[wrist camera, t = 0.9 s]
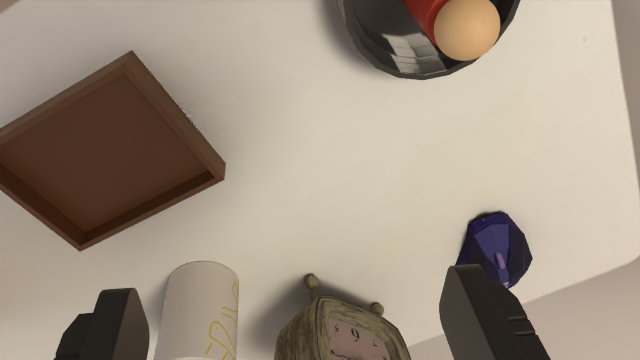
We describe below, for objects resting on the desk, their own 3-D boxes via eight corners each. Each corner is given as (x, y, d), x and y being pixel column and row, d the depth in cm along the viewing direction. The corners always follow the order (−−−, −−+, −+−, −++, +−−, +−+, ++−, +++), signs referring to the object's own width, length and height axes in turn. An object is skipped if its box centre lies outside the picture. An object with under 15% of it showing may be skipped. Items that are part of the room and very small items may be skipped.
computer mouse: (461, 298, 63) (472, 324, 60) (440, 224, 54) (451, 249, 51) (531, 277, 62) (546, 302, 59) (521, 197, 53) (538, 221, 50)
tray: (87, 233, 50) (79, 252, 48) (-24, 143, 42) (-39, 160, 40) (225, 163, 46) (224, 179, 44) (132, 49, 38) (125, 63, 36)
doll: (384, -8, 37) (429, 56, 27) (412, -59, 35) (471, -9, 25) (426, 13, 39) (483, 82, 29) (455, -35, 36) (527, 22, 27)
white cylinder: (241, 304, 59) (238, 397, 50) (174, 309, 58) (158, 405, 49) (235, 258, 54) (230, 353, 45) (162, 263, 53) (141, 361, 44)
